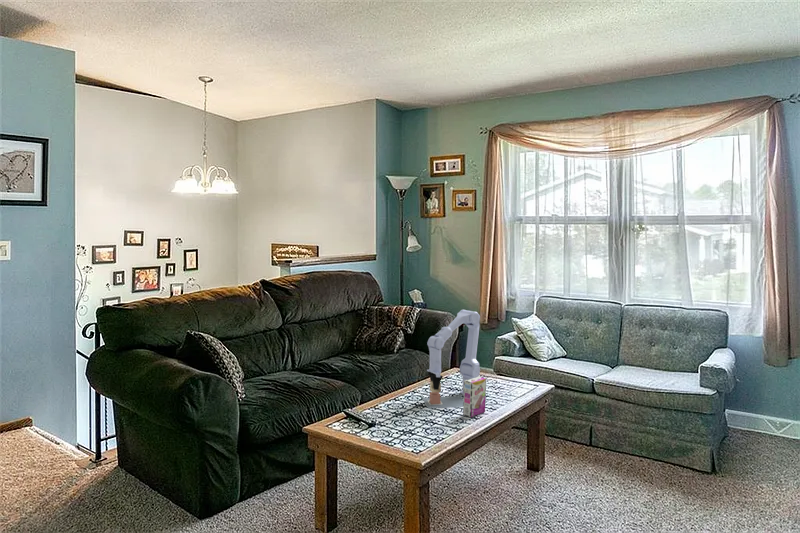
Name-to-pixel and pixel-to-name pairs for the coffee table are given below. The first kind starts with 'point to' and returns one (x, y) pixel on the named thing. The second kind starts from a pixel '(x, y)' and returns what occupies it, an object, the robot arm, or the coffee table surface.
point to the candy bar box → (474, 396)
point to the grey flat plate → (445, 402)
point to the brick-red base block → (434, 397)
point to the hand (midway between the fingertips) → (435, 387)
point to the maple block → (433, 387)
